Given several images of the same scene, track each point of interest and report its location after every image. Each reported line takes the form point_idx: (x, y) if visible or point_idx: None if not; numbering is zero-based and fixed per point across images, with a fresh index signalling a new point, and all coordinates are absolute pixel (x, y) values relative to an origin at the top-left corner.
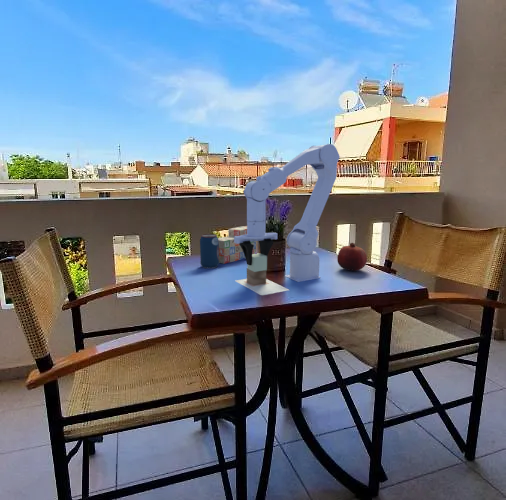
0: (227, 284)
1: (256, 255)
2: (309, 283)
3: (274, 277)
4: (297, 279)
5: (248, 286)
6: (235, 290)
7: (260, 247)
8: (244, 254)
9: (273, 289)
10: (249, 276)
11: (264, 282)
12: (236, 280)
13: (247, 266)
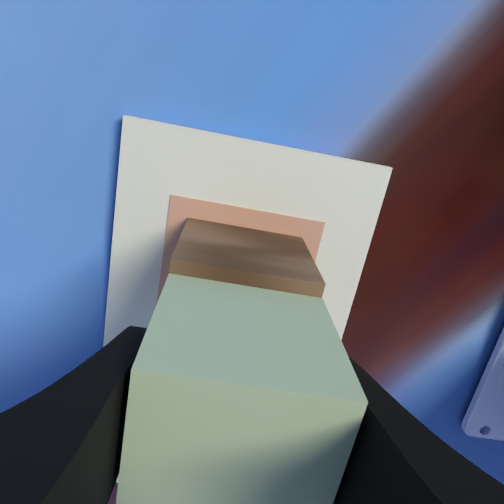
0: (35, 133)
1: (219, 477)
2: (496, 465)
3: (467, 236)
4: (497, 408)
5: (128, 312)
6: (17, 295)
7: (414, 498)
8: (53, 388)
9: None
10: None
11: None
12: (140, 123)
13: (163, 287)
